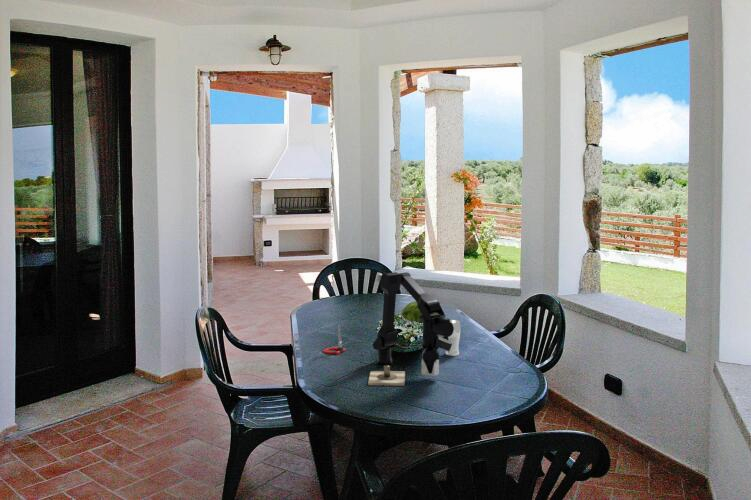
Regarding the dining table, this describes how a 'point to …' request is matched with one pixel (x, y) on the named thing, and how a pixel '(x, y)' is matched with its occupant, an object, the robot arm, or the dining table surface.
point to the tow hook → (336, 347)
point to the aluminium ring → (435, 369)
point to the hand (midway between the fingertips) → (430, 370)
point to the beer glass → (454, 339)
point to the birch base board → (394, 380)
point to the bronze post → (386, 371)
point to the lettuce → (412, 312)
